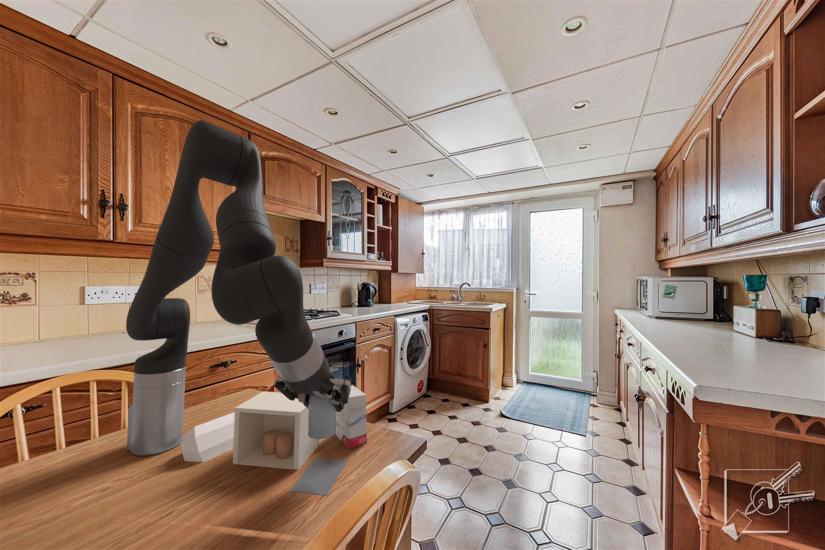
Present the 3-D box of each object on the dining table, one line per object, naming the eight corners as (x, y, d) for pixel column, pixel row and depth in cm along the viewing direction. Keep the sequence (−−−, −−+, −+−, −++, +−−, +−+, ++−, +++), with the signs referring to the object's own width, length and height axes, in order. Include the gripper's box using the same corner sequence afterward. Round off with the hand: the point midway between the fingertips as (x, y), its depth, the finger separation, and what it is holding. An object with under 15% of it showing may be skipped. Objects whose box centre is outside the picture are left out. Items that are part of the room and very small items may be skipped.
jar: (302, 437, 60) (304, 380, 60) (315, 425, 65) (316, 373, 65) (329, 440, 59) (331, 382, 59) (339, 428, 64) (341, 374, 64)
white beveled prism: (266, 403, 89) (167, 440, 68) (282, 394, 86) (184, 429, 65) (274, 430, 87) (176, 476, 66) (291, 421, 84) (193, 467, 63)
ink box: (367, 446, 74) (368, 394, 75) (346, 452, 72) (348, 398, 72) (352, 431, 82) (353, 384, 82) (333, 436, 79) (334, 387, 79)
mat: (289, 494, 57) (289, 491, 57) (315, 460, 68) (315, 457, 68) (327, 498, 56) (327, 495, 56) (347, 463, 67) (347, 460, 67)
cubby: (232, 466, 65) (234, 407, 65) (261, 442, 75) (263, 391, 75) (298, 472, 63) (300, 412, 64) (318, 447, 73) (320, 395, 74)
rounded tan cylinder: (272, 458, 67) (273, 439, 67) (280, 450, 70) (281, 432, 70) (287, 459, 67) (287, 440, 67) (294, 451, 70) (295, 433, 70)
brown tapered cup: (259, 454, 69) (260, 435, 69) (268, 447, 72) (268, 429, 72) (273, 455, 68) (274, 436, 68) (281, 448, 71) (282, 430, 71)
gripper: (348, 342, 54) (365, 390, 66) (268, 339, 56) (298, 387, 67) (336, 383, 49) (357, 428, 60) (248, 378, 51) (285, 423, 62)
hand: (326, 406), depth 64 cm, fingers closed on jar, 5 cm apart
